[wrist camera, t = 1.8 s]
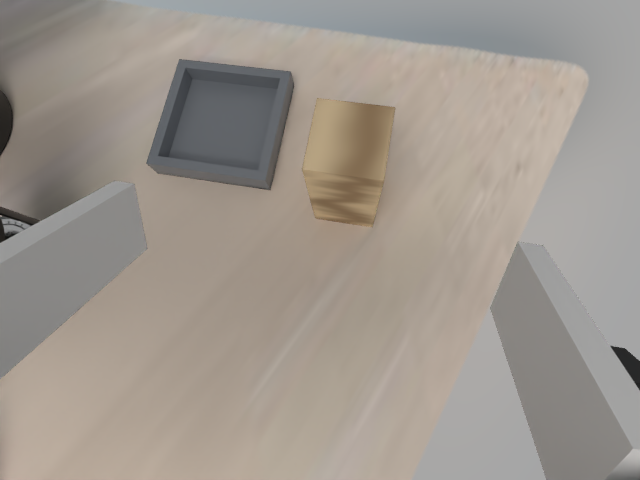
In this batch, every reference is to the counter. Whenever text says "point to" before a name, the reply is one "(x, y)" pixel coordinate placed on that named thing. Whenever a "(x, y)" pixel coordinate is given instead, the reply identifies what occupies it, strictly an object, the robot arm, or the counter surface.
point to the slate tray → (222, 123)
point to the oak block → (347, 160)
